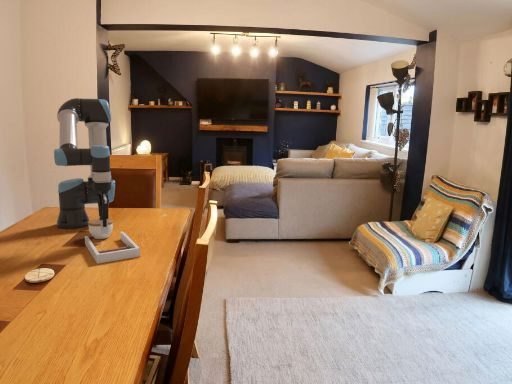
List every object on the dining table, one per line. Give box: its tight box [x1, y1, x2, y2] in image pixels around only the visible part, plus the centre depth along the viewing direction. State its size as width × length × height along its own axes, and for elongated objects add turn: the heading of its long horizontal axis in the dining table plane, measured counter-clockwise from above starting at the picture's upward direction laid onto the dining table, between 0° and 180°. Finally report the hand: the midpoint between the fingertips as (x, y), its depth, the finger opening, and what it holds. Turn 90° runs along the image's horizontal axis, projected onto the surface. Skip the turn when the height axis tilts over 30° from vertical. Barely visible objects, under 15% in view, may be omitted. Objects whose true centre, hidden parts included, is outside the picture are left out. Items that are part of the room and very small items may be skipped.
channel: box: [84, 231, 141, 265], centre depth 165 cm, size 26×16×4 cm, turn 33°
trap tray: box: [97, 246, 132, 254], centre depth 159 cm, size 8×13×2 cm, turn 123°
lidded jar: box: [87, 216, 114, 240], centre depth 181 cm, size 11×11×9 cm
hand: (104, 233), depth 175 cm, fingers closed
